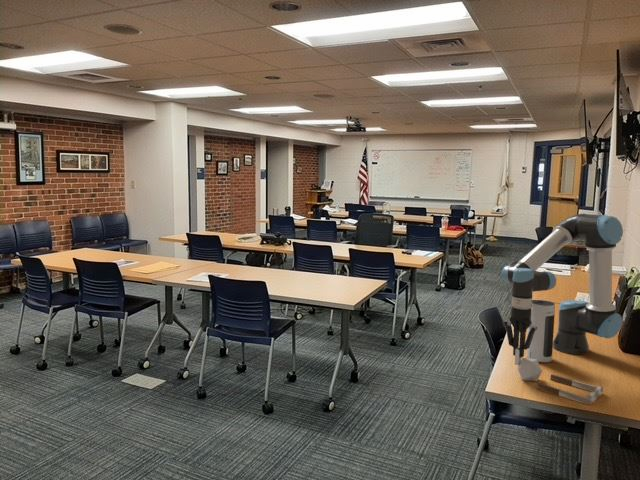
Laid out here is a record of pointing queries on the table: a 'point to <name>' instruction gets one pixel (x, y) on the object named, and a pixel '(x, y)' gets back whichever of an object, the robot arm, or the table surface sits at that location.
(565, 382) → the grey brown u-shaped frame
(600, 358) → the table surface
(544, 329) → the speaker
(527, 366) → the die
